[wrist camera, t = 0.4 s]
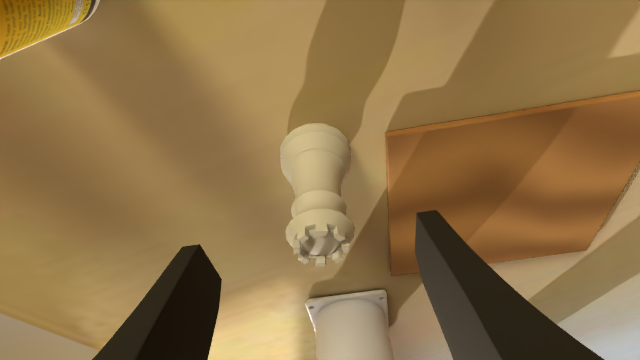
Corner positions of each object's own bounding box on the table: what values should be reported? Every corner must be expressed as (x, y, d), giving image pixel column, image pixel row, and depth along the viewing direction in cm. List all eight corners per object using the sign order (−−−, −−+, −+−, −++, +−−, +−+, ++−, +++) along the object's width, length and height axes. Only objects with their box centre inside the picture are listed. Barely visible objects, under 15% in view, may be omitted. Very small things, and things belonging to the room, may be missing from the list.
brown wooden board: (582, 245, 28) (587, 250, 28) (390, 271, 29) (391, 276, 29) (674, 84, 19) (683, 88, 18) (385, 131, 20) (386, 136, 19)
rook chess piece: (306, 187, 22) (308, 289, 16) (265, 142, 20) (249, 243, 14) (362, 157, 21) (387, 256, 15) (325, 105, 18) (338, 198, 12)
